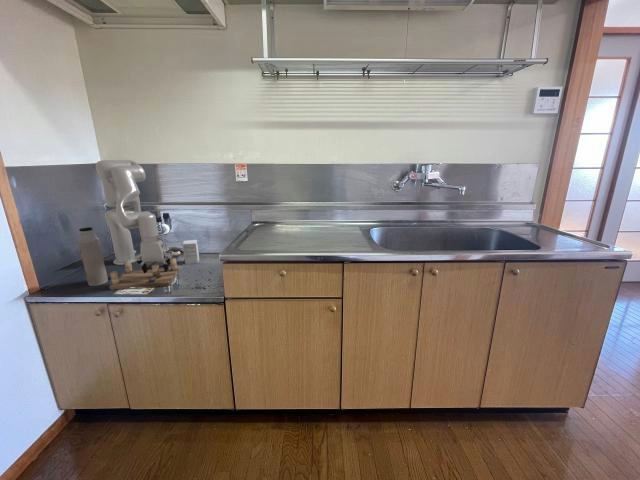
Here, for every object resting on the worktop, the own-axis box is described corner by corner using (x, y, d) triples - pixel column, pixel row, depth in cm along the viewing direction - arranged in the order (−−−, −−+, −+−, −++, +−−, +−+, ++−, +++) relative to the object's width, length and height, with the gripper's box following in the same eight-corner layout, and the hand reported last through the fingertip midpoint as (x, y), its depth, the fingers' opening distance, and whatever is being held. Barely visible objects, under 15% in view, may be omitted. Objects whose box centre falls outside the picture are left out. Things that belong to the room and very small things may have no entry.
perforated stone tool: (159, 269, 158) (157, 258, 156) (150, 269, 159) (148, 257, 157) (176, 260, 172) (175, 249, 170) (168, 259, 173) (167, 249, 171)
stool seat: (127, 274, 151) (124, 260, 149) (179, 271, 155) (177, 257, 153) (110, 289, 134) (106, 274, 132) (169, 285, 138) (166, 270, 136)
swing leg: (154, 281, 137) (152, 270, 136) (147, 282, 137) (145, 270, 135) (161, 274, 146) (159, 263, 144) (154, 275, 145) (152, 264, 143)
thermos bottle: (85, 286, 137) (71, 230, 129) (91, 280, 144) (78, 226, 136) (105, 284, 139) (92, 229, 131) (110, 278, 147) (98, 225, 139)
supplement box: (186, 260, 172) (183, 240, 169) (199, 259, 174) (197, 239, 171) (184, 264, 166) (182, 243, 162) (198, 263, 168) (196, 242, 164)
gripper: (171, 236, 143) (176, 267, 148) (134, 237, 140) (140, 270, 145) (166, 240, 136) (172, 273, 141) (127, 242, 133) (134, 275, 138)
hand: (156, 271), depth 143 cm, fingers open, 9 cm apart
